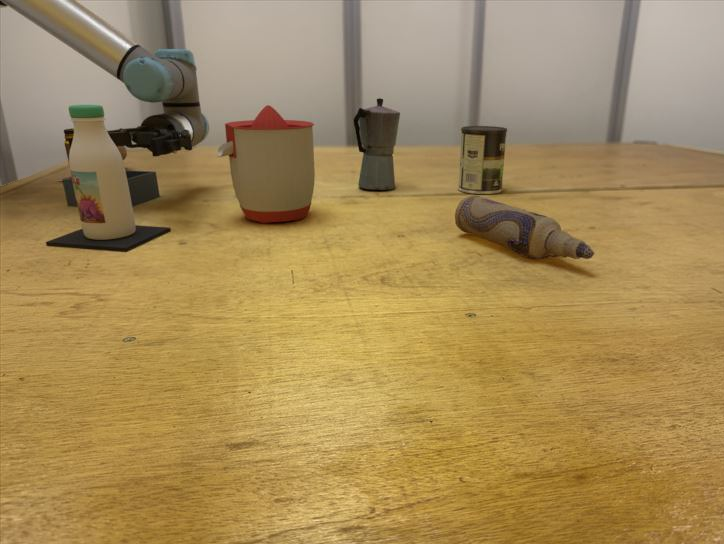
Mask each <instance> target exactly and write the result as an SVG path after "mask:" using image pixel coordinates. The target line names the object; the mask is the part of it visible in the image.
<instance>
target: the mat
mask: <svg viewBox="0 0 724 544" xmlns="http://www.w3.org/2000/svg"><path fill="white" fill-rule="evenodd" d="M135 226H136V230H135V232H134V233H133V234H131V235H129V236H126V237H122V238H116V239H107V240H95V239H89V238H87V237H86V236H85V235H84V232H83V228H80V229H77V230H75V231H72V232H69V233H67V234H64V235H61V236H58V237H56V238H53V239H50V240H47V241H45V244H46V246H47V247H62V248H76V249H87V250H99V251H102V250H103V251H112V252H125V253H126V252H128V251H131V250H133V249H135V248H137V247H139V246H141V245H144V244H145V243H146V244H147V243H148V242H151V241H152V240H154V239H156V238H159V237H160V236H163V235H165V234H168V233H170V232H171V231H172V230H171V227H168V226H167V227H166V226H155V225H154V226H152V225H151V226H150V225H139V224H137V225H136V224H135Z"/></svg>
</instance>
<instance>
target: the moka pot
mask: <svg viewBox="0 0 724 544" xmlns="http://www.w3.org/2000/svg"><path fill="white" fill-rule="evenodd" d="M383 103H384V99H383V98H380V97H379V98H377V99H376V106H372V107H367V108H362V107H359V108H358V110H357V113H356V114H355V115H354V118H353V126H354V130H355V131H354V132H355V135H356V141H357V147H358V152H359V153H363V154H362V159H361V164H360V165H361V166H360V171H359V178H358V185H357V186H358V187H359V188H360V189H363V190H371V191H390V190H394V189H396V181H395V167H394V166H395V165H394V164H395V163H394V156H393V155H394V151H395V146H396V145H397V144H396V143H397V137H398V130H399V123H400V118H401V113H400V111H398V110H395V109H392V108H389V107H387V106H384V105H383Z"/></svg>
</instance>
